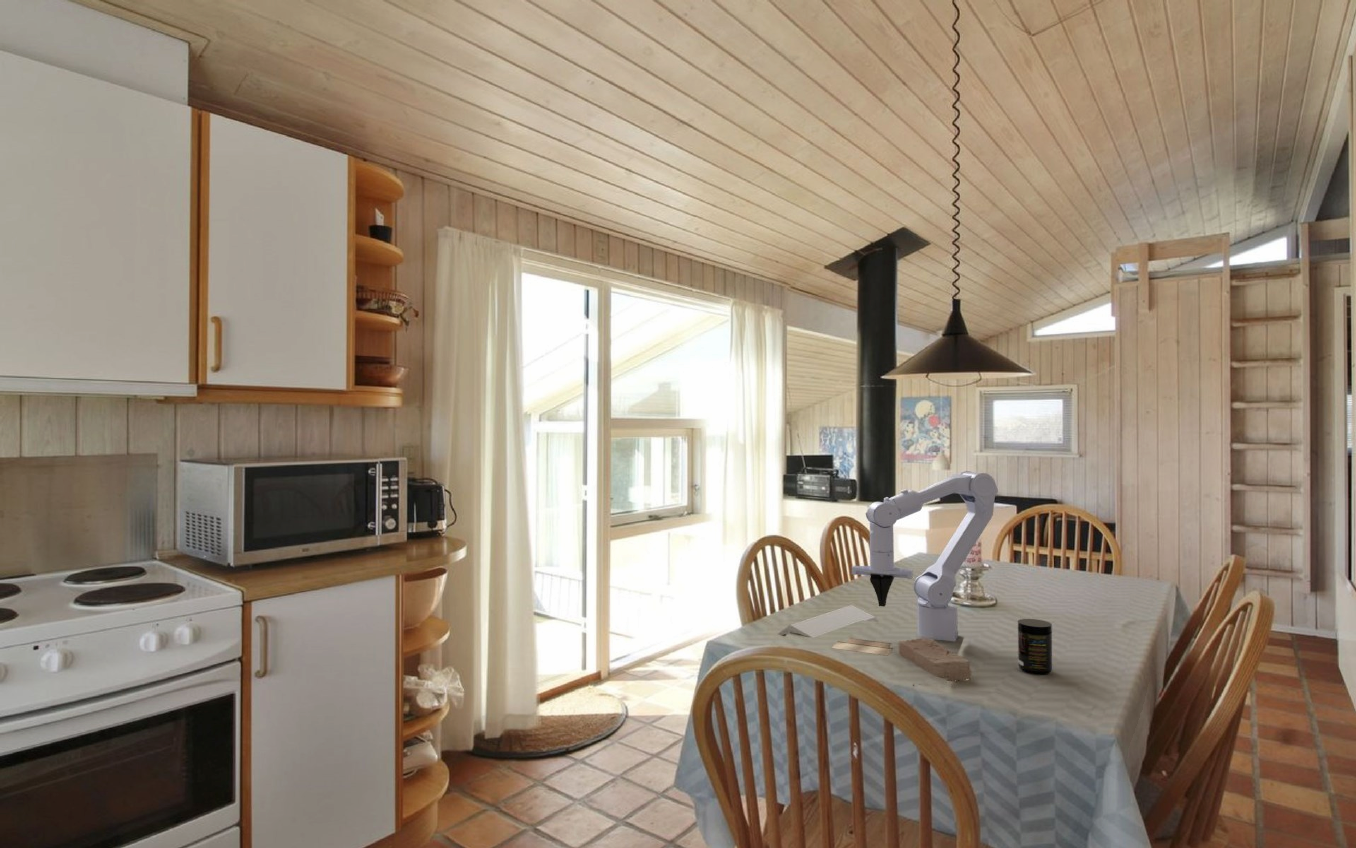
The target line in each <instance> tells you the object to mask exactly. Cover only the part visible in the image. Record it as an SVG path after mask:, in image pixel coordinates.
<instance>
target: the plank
mask: <svg viewBox="0 0 1356 848" xmlns="http://www.w3.org/2000/svg"><path fill="white" fill-rule="evenodd" d="M846 642H852V643H860V644H867V645H875V646H883V647H891V645H892V643H891V642H886V641H875V640H869V639H861V638H852V637H850V638H849V639H848V640H847V641H846Z"/></svg>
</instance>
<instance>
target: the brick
mask: <svg viewBox="0 0 1356 848" xmlns="http://www.w3.org/2000/svg"><path fill="white" fill-rule="evenodd" d="M898 654H899V656H902V657H903V658H905V659H907V660H908V661H910V662H912V663H913V664H915V665H916V666H918V667H920V668H922V669H923V670H924V671H926V672H928V673H930V674H932V675H934V676H935V677H941V678H942V677H943V678H944V677H948V678H947V680H946V682H947V681H951V682H956V681H955V680H966V679H970V680H971V674H972V670H971V668H970V667H971V663H970V662H971V661H970V660H968V659H966V658H964V657H963V656H961V655H960V654H959V655H958V654H957V653H954V652H951V651H949V650H948V648H946V647H943V646H942V645H941V644H940V643H939V642H938V641H936V640H932V639H927V638H922V637H920V638H916V639H910V640H909V639H907V640H902V641H901V640H900V641H899V642H898Z"/></svg>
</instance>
